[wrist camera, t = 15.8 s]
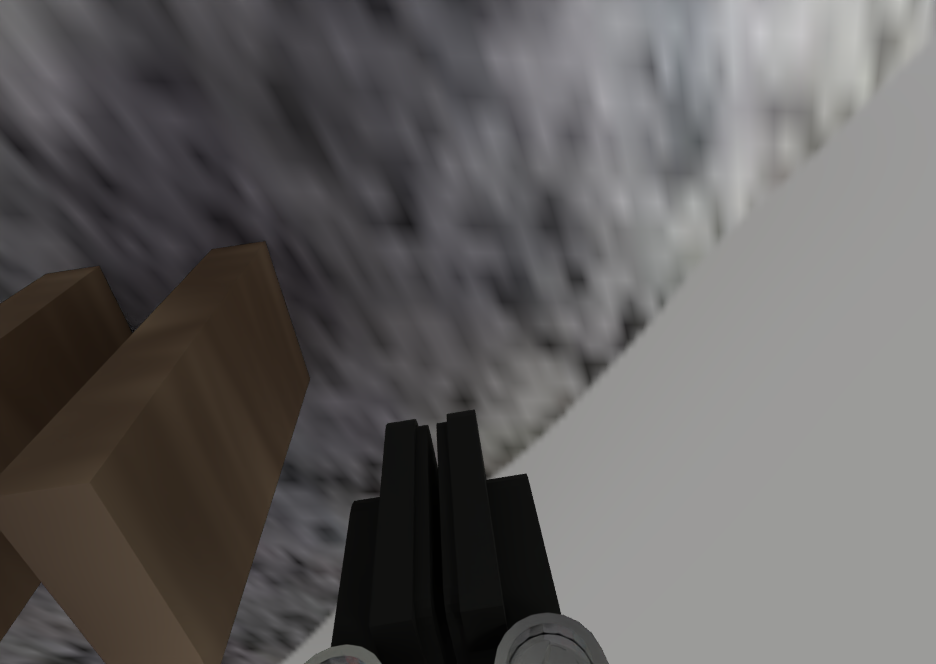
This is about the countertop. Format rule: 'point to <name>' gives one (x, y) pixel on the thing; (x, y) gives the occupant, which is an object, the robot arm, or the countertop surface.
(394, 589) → the robot arm
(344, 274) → the countertop surface
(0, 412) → the walnut domino
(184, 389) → the walnut domino
